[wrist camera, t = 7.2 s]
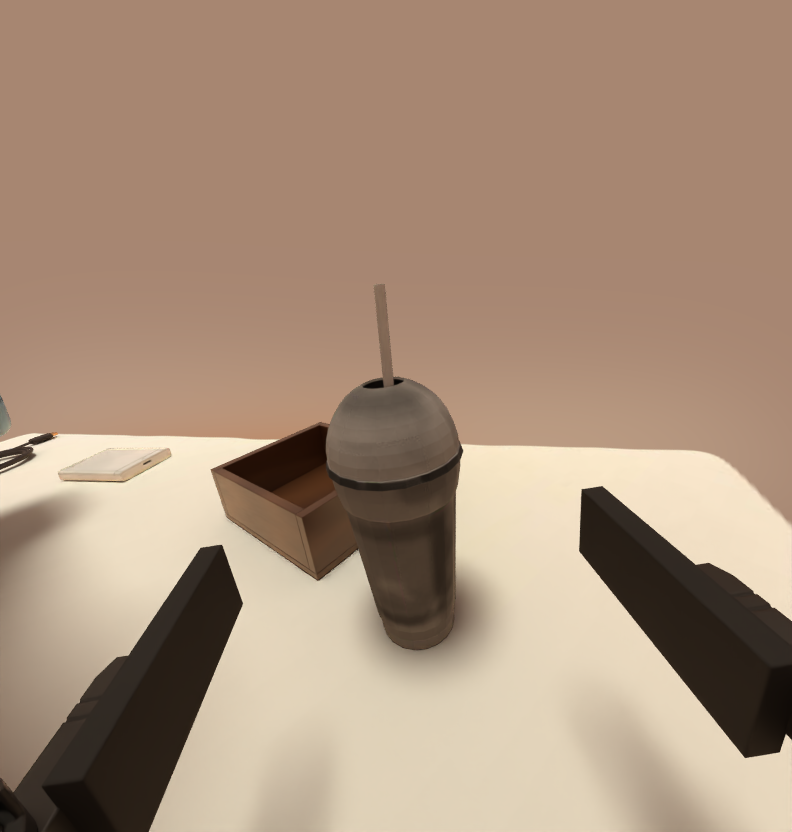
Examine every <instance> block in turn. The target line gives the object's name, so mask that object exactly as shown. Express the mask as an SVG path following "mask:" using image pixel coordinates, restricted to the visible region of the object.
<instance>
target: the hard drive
mask: <svg viewBox="0 0 792 832" xmlns="http://www.w3.org/2000/svg"><path fill="white" fill-rule="evenodd" d="M170 456H171V452H170V449H169V448H110V449H106V450H104V451H102V452H99V453H97V454H95V455H93V456H91V457H89V458H86V459H84V460H82V461H80V462H78V463H75V464H73V465H71V466H69V467H66V468H64V469H62V470H60V471H59V472H58V475H59V477H60V479H61V480H96V481H126V480H129V479H130V478H132V477H134V476H136V475H138V474H139V473H141V472H143V471H145V470H147V469H148V468H150V467H152V466H154V465H156V464H158V463H159V462H161V461H163V460H165V459H167V458H169V457H170Z"/></svg>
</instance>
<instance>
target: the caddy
mask: <svg viewBox="0 0 792 832" xmlns="http://www.w3.org/2000/svg"><path fill="white" fill-rule="evenodd" d="M329 425H330V424H326V423H322V422H319V423H318V424H315V425H313V426H310V427H308V428H306V429H303V430H301V431H299V432H296V433H294V434H292V435H290V436H287V437H285V438H282V439H280V440H278V441H276V442H273V443H271V444H269V445H266V446H264V447H262V448H259V449H257V450H255V451H252V452H250V453H248V454H245V455H243V456H241V457H239V458H236V459H234V460H232V461H229V462H227V463H225V464H222V465H220V466H218V467H215V468H213V469H211V472H212V475H213V478H214V481H215V484H216V487H217V490H218V493H219V496H220V499H221V502H222V505H223V508H224V511H225V513H226V516H227V518H229V519H230V520H232V521H233V522H234V523H236V524H237V525H239V526H240V527H242V528H243V529H245V530H246V531H247V532H249V533H250V534H252V535H253V536H255V537H256V538H258V539H259V540H261V541H262V542H263V543H265V544H266V545H268V546H269V547H271V548H272V549H274V550H275V551H276V552H278V553H279V554H281V555H282V556H284V557H285V558H287V559H288V560H289V561H291V562H292V563H294V564H295V565H297V566H298V567H300V568H301V569H303V570H304V571H305V572H307V573H308V574H310V575H311V576H313V577H314V578H316V579H317V580H319V579H320V578H322V577H323V576H324V575H325V574H327V573H328V572H329V571H330V570H332V569H333V568H334V567H335V566H337V565H338V564H339V563H340V562H342V561H343V560H344V559H345V558H347V557H348V556H349V555H350V554H351V553H353V552H354V551H355V550H356V549H358V546H357V542H356V539H355V536H354V533H353V530H352V527H351V523H350V520H349V517H348V514H347V511H346V509H345V508H344V507H343V505H342V503H341V501H340V499H339V496H338V494H337V492H336V490H335V487H334V484H333V481H332V479H330V478H329V476H328V473H327V470H326V460H327V454H326V438H327V433H328V428H329Z"/></svg>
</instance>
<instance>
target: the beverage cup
mask: <svg viewBox="0 0 792 832" xmlns="http://www.w3.org/2000/svg"><path fill="white" fill-rule="evenodd" d="M374 293H375V303H376V313H377V323H378V333H379V343H380V353H381V363H382V373H383V378H378V379H373V380H371V381H368V382H365V383H363V384H361V385H360V386H358V387H356V388H355V389H354V390H352V391H351V392H350V393H349V394H348V395H347V396H346V397H345V398H344V399H343V400H342V402H341V403H340V404H339V406H338V408H337V409H336V411H335V413H334V415H333V417H332V420H331V422H330V425H329V428H328V433H327V438H326V454H327V460H326V470H327V473H328V476H329V478H330V479H332V481H333V484H334V487H335V490H336V492H337V494H338V496H339V499H340V501H341V503H342V505H343V507H344V508H345V509H346V511H347V514H348V517H349V520H350V523H351V527H352V530H353V533H354V536H355V539H356V542H357V546H358V549H359V552H360V555H361V558H362V562H363V565H364V568H365V571H366V574H367V577H368V581H369V584H370V587H371V590H372V593H373V596H374V600H375V603H376V606H377V609H378V612H379V615H380V617H381V618H382V620H383V624H384V627H385V630H386V633H387V635H388V636H389V637H390V638H391V640H392V641H393V642H394V643H396V644H398V645H400V646H401V647H403V648H408V649H413V650H418V649H427V648H429V647H432V646H434V645H437V644H438V643H440V642H441V641H442V640H443V639H444V638H446V637H447V635H448V634H449V632H450V630H451V629H452V626H453V621H454V612H453V611H454V603H455V544H456V489H457V485H458V479H459V471H460V459H461V456H462V453H463V449H462V446H461V444H460V441H459V439H458V434H457V430H456V427H455V424H454V422H453V419H452V417H451V415H450V414H449V411H448V410H447V407H446V406H445V405H444V403H443V402H442V401H441V399H439V397H437V395H436V394H434V393H433V392H432V391H431V390H429V389H428V388H426V387H425V386H423V385H421V384H419V383H417V382H415V381H413V380H410V379H405V378H400V377H393V370H392V359H391V349H390V336H389V326H388V314H387V304H386V292H385V284H378V285H374Z"/></svg>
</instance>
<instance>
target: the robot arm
mask: <svg viewBox="0 0 792 832" xmlns="http://www.w3.org/2000/svg"><path fill="white" fill-rule="evenodd" d="M10 426H11V421H10V418H9V415H8V412H7V410H6V407H5V405H4V402H3V400H2V397H1V395H0V436H2V435H4V434H5V433H7V432H8V430H9V429H10ZM579 551H580V553H581V554H582V555H583V556H584V558H585V559H586V560H587V561H588V563H589V564H590V565H591V566H592V568H593V569H594V570H595V571H596V573H597V574H598V575H599V576H600V578H601V579H602V580H603V581H604V583H605V584H606V585H607V586H608V588H609V589H610V590H611V591H612V593H613V594H614V595H615V596H616V598H617V599H618V600H619V601H620V603H621V604H622V605H623V606H624V608H625V609H626V610H627V611H628V613H629V614H630V615H631V616H632V618H633V619H634V620H635V621H636V623H637V624H638V625H639V626H640V628H641V629H642V630H643V631H644V633H645V634H646V635H647V636H648V637H649V639H650V640H651V641H652V642H653V644H654V645H655V646H656V647H657V649H658V650H659V651H660V652H661V654H662V655H663V656H664V657H665V659H666V660H667V661H668V662H669V664H670V665H671V666H672V667H673V669H674V670H675V671H676V672H677V674H678V675H679V676H680V677H681V679H682V680H683V681H684V682H685V684H686V685H687V686H688V687H689V689H690V690H691V691H692V692H693V694H694V695H695V696H696V697H697V699H698V700H699V701H700V702H701V704H702V705H703V706H704V707H705V709H706V710H707V711H708V712H709V714H710V715H711V716H712V717H713V719H714V720H715V721H716V722H717V724H718V725H719V726H720V727H721V729H722V730H723V731H724V732H725V734H726V735H727V736H728V737H729V739H730V740H731V741H732V742H733V744H734V745H735V746H736V747H737V749H738V750H739V751H740V752H741V754H742V755H743V756H744V757H745V758H748V757H754V756H760V755H766V754H772V753H778V752H780V750H781V747H782V744H783V741H784V738H785V735H786V734H787V735H788V736H789V737H790V738H791V740H792V621H791V620H789V619H788V618H787V617H786V616H784V615H783V614H782V613H781V612H779V611H778V610H777V609H775V608H772V607H771V606H770V604H769V603H768V602H766V601H765V600H764V599H763V598H761V597H760V596H759V595H758V594H754V593H753V591H752V590H751V589H750V588H749V587H747V586H746V585H745V584H743V583H742V582H741V581H740V580H738V579H737V578H736V577H735V576H733V575H731V574H730V573H728V572H726V571H724V570H722V569H720V568H718V567H716V566H714V565H712V564H710V563H705V564H699V565H695V564H694V563H693V562H692V561H690V560H689V559H688V558H687V557H686V556H684V555H683V554H682V553H681V552H680V551H679V550H677V549H676V548H675V547H674V546H673V545H671V544H670V543H669V542H668V541H667V540H665V539H664V538H663V537H662V536H661V535H660V534H658V533H657V532H656V531H655V530H654V529H652V528H651V527H650V526H649V525H648V524H646V523H645V522H644V521H643V520H642V519H641V518H639V517H638V516H637V515H636V514H635V513H633V512H632V511H631V510H630V509H629V508H627V507H626V506H625V505H624V504H623V503H622V502H620V501H619V500H618V499H617V498H616V497H614V496H613V495H612V494H611V493H610V492H608V491H607V490H606V489H605V488H604V487H603V486H601V487H594V488H588V489H582V493H581V519H580V545H579ZM242 605H243V602H242V600H241V597H240V594H239V591H238V588H237V586H236V583H235V580H234V577H233V574H232V571H231V569H230V566H229V563H228V560H227V557H226V555H225V552H224V549H223V546H222V545H216V546H210V547H203V548H200V550H199V551H198V553H197V554H196V556H195V557H194V559H193V560H192V562H191V563H190V565H189V566H188V568H187V569H186V571H185V572H184V574H183V575H182V577H181V578H180V579H179V581H178V582H177V584H176V585H175V587H174V588H173V590H172V591H171V593H170V594H169V596H168V597H167V599H166V600H165V602H164V603H163V605H162V606H161V608H160V609H159V611H158V612H157V614H156V615H155V617H154V618H153V620H152V621H151V623H150V624H149V626H148V627H147V629H146V630H145V632H144V633H143V635H142V636H141V638H140V639H139V641H138V642H137V644H136V645H135V647H134V648H133V650H132V651H131V653H130V654H129V656H123V657H117V658H116V659H115V660H114V661H113V662H111V663H110V664H109V665H108V666H107V667H106V668H105V669H104V670H103V671H102V672H101V673H100V674H99V675H98V676H97V677H96V678H95V679H94V681H93V682H92V683H91V685H90V686H89V688H88V689H87V690H86V692H85V693H84V695H83V696H82V697H81V699H80V703H79V704H76V706H75V707H74V709H73V710H72V711H71V713H70V714H69V716H68V717H67V721H66V722H65V723H63V724H62V725H61V727H60V728H59V730H58V731H57V732H56V734H55V735H54V737H53V738H52V739H51V741H50V742H49V744H48V745H47V746H46V748H45V749H44V750H43V752H42V753H41V755H40V756H39V757H38V759H37V760H36V762H35V763H34V764H33V766H32V767H31V769H30V770H29V771H28V773H27V774H26V776H25V777H24V778H23V780H22V781H21V783H20V784H19V785H18V787H17V788H16V790H15V791H14V792H12V791H11V790H10V788H9V787H8V786H7V785H6V783H5V782H4V781H3V780H2V779H1V778H0V832H149V829H150V827H151V825H152V822H153V820H154V817H155V815H156V813H157V810H158V808H159V805H160V803H161V800H162V798H163V796H164V793H165V791H166V788H167V786H168V784H169V781H170V779H171V776H172V774H173V771H174V769H175V767H176V764H177V762H178V759H179V757H180V755H181V752H182V750H183V747H184V745H185V742H186V740H187V738H188V735H189V733H190V730H191V728H192V726H193V723H194V721H195V718H196V716H197V713H198V711H199V709H200V706H201V704H202V701H203V699H204V697H205V694H206V692H207V689H208V687H209V684H210V682H211V680H212V677H213V675H214V672H215V670H216V668H217V665H218V663H219V660H220V658H221V655H222V653H223V651H224V648H225V646H226V643H227V641H228V639H229V636H230V634H231V631H232V629H233V626H234V624H235V622H236V619H237V617H238V614H239V612H240V610H241V607H242Z"/></svg>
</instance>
